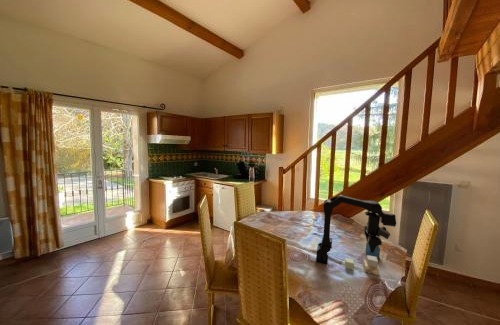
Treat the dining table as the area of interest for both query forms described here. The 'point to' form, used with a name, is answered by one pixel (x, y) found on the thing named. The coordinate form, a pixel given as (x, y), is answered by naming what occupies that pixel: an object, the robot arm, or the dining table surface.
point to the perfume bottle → (375, 253)
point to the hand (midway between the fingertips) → (370, 248)
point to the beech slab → (370, 268)
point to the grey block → (372, 261)
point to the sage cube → (349, 263)
